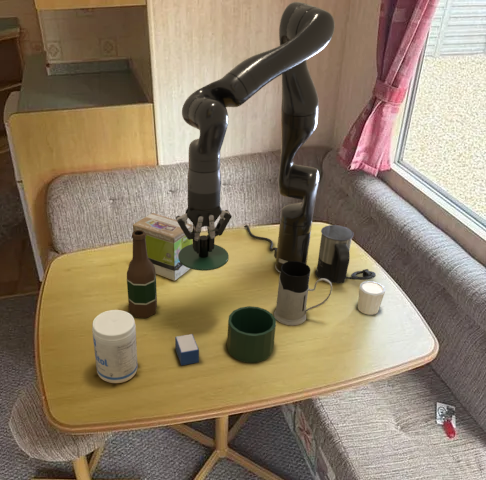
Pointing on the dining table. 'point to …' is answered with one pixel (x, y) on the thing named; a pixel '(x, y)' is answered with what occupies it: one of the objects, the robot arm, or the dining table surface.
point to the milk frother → (337, 255)
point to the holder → (294, 293)
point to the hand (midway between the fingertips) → (203, 250)
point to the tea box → (164, 244)
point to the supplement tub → (115, 346)
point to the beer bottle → (141, 279)
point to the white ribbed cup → (370, 297)
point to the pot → (251, 334)
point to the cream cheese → (187, 349)
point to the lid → (203, 256)
